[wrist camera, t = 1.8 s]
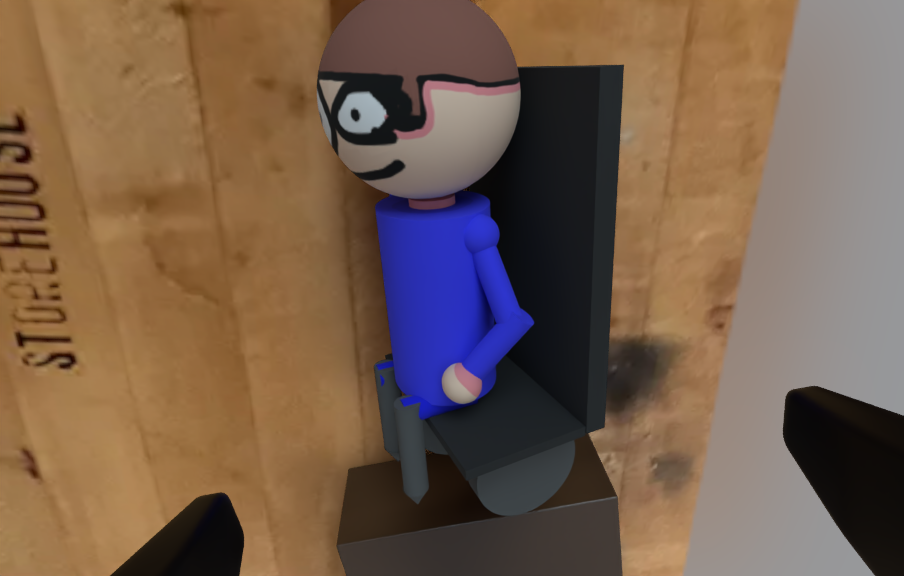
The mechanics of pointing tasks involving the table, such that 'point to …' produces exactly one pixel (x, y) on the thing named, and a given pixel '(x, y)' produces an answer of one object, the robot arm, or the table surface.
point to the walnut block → (478, 525)
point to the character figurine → (481, 239)
